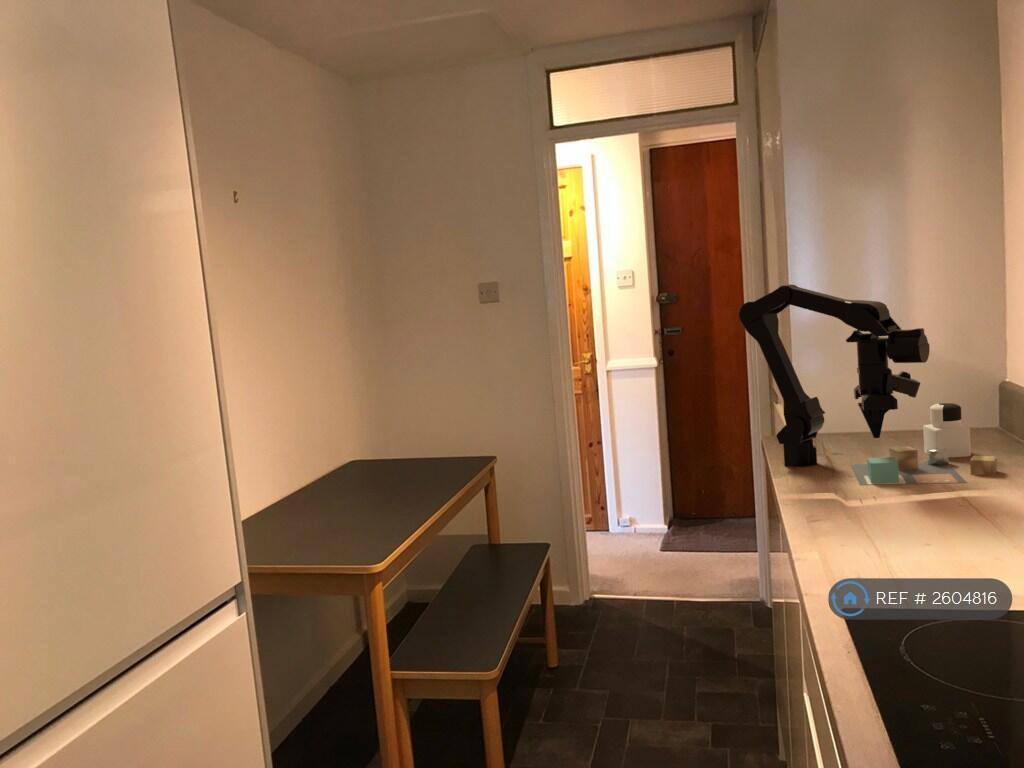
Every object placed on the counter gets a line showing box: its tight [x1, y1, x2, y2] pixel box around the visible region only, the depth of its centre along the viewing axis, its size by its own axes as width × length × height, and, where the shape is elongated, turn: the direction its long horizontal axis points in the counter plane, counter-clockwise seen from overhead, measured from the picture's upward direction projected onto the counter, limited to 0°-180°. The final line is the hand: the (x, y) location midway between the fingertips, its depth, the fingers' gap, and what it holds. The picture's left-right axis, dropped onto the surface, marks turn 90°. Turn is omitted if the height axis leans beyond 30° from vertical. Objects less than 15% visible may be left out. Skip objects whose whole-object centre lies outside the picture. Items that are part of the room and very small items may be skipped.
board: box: [850, 461, 968, 486], centre depth 170 cm, size 19×18×1 cm
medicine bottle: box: [922, 402, 972, 459], centre depth 183 cm, size 7×7×12 cm
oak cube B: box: [970, 455, 998, 477], centre depth 165 cm, size 4×4×4 cm
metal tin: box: [926, 448, 950, 466], centre depth 175 cm, size 4×4×3 cm
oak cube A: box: [888, 445, 919, 471], centre depth 174 cm, size 4×4×4 cm
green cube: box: [866, 456, 899, 483], centre depth 166 cm, size 5×5×4 cm
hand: (876, 437), depth 173 cm, fingers closed
